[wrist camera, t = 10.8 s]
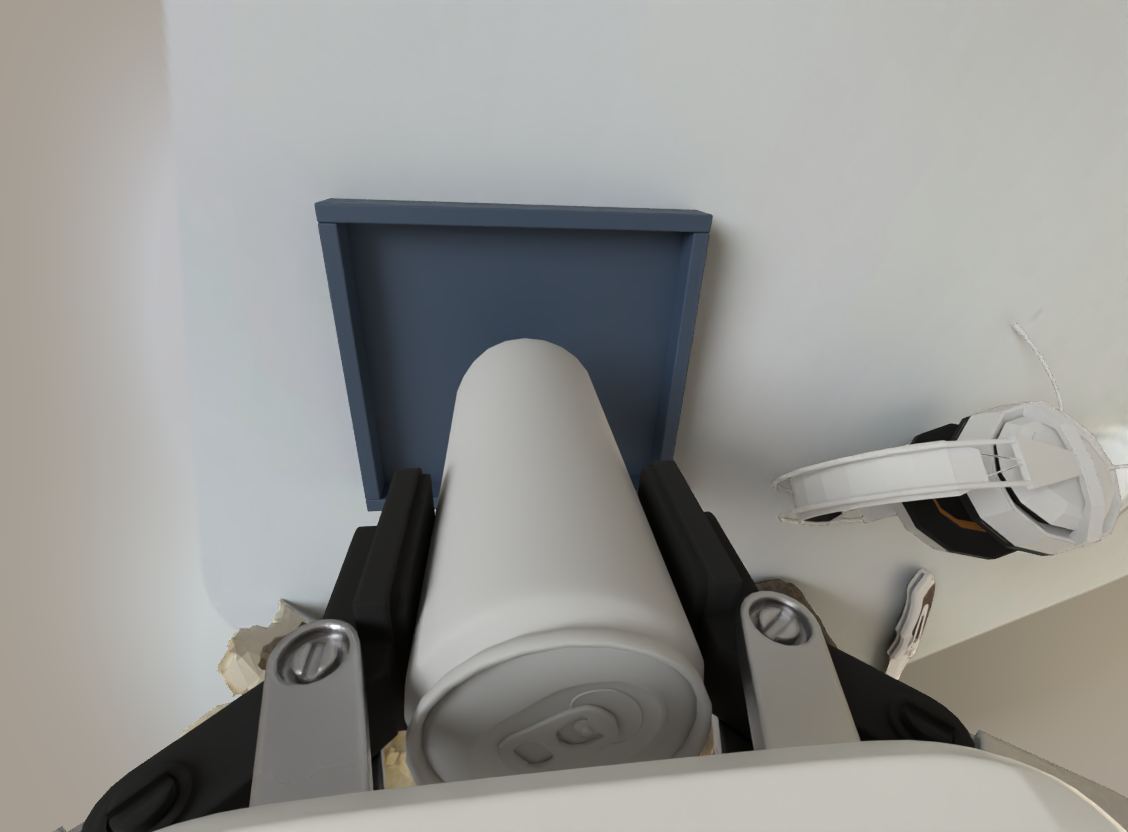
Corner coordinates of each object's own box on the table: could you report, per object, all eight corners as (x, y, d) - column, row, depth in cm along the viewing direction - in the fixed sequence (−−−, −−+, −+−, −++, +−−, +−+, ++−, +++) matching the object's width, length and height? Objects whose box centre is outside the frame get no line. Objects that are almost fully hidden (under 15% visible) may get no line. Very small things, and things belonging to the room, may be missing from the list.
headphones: (1085, 494, 28) (734, 514, 27) (1182, 316, 24) (767, 328, 22) (1288, 611, 21) (818, 647, 19) (1484, 383, 16) (892, 407, 15)
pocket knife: (921, 581, 29) (948, 570, 29) (908, 571, 29) (934, 560, 30) (877, 721, 35) (899, 710, 36) (866, 709, 36) (888, 699, 36)
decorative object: (60, 654, 20) (210, 643, 30) (58, 1066, 16) (234, 903, 25) (375, 546, 22) (424, 568, 32) (449, 885, 18) (480, 796, 27)
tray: (329, 198, 17) (313, 202, 16) (696, 210, 19) (713, 214, 18) (375, 488, 23) (367, 511, 22) (656, 478, 25) (666, 499, 23)
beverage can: (614, 416, 19) (763, 756, 8) (503, 475, 19) (509, 861, 9) (550, 305, 17) (642, 578, 6) (427, 377, 17) (316, 735, 7)
